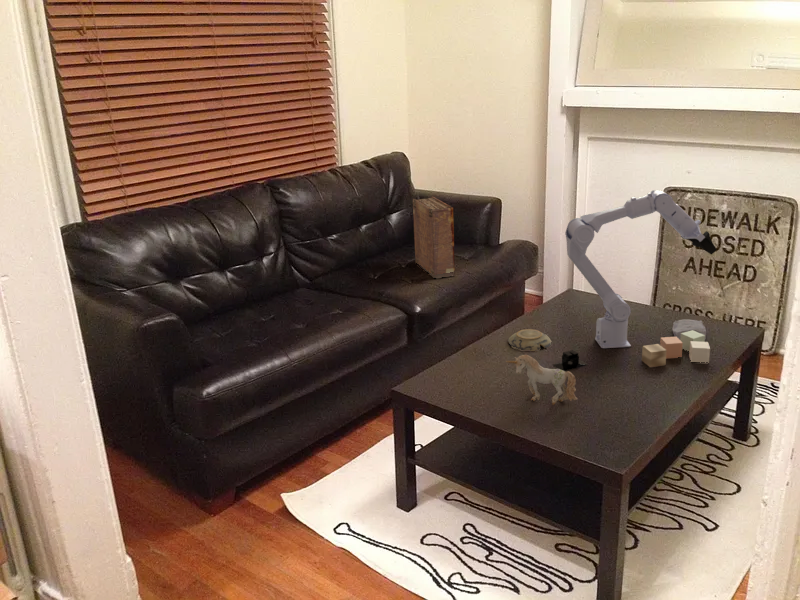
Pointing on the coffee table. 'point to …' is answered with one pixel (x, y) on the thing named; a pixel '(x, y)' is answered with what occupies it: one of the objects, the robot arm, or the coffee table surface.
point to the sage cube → (691, 338)
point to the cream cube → (699, 351)
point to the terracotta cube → (672, 346)
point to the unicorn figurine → (546, 378)
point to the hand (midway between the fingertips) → (708, 248)
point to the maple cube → (654, 355)
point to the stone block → (688, 327)
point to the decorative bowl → (529, 340)
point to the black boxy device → (570, 361)
